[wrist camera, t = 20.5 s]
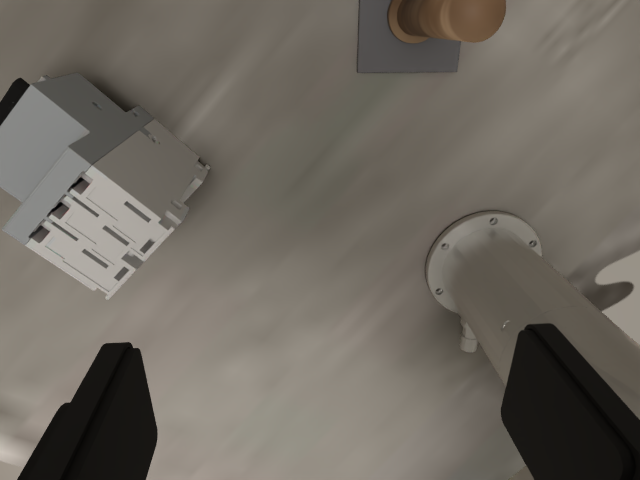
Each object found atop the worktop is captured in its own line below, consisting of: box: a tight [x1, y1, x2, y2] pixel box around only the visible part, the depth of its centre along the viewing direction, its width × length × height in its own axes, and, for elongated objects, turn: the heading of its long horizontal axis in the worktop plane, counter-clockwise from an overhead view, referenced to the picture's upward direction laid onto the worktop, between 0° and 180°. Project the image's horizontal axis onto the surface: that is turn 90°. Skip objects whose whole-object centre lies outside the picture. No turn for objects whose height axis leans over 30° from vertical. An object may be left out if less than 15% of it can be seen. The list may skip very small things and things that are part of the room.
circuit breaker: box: [0, 73, 210, 300], centre depth 35 cm, size 8×14×15 cm, turn 45°
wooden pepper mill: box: [387, 0, 506, 43], centre depth 32 cm, size 4×4×14 cm
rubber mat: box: [357, 0, 461, 73], centre depth 39 cm, size 9×9×1 cm
